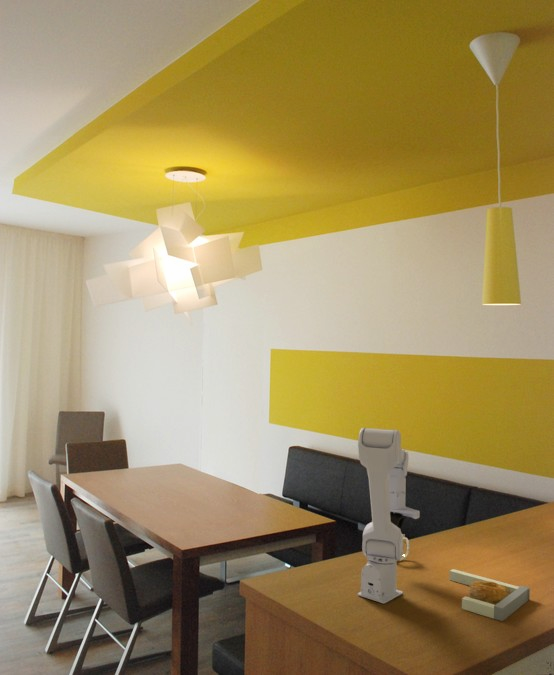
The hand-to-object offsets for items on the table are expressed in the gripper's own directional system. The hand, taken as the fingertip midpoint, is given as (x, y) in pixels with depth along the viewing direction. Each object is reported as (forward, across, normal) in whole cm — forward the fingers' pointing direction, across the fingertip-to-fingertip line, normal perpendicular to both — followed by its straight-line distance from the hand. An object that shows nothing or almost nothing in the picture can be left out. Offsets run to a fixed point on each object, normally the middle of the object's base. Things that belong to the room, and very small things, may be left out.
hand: (394, 539), depth 175 cm
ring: (+10, +4, -10) cm, 14 cm away
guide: (+9, -24, +1) cm, 26 cm away
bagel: (+10, -28, 0) cm, 30 cm away
